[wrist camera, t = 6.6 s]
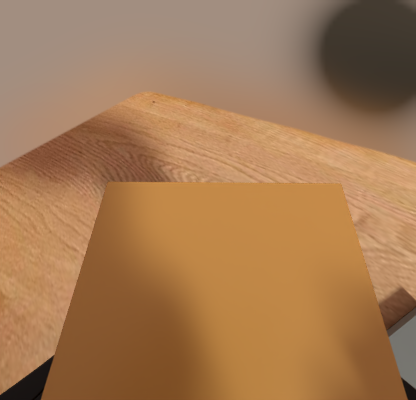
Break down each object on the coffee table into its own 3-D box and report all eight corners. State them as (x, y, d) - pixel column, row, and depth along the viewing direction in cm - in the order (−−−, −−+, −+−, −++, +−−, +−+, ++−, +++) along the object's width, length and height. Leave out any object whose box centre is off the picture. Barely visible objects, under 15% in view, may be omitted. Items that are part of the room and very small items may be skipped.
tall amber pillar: (261, 357, 13) (478, 629, 2) (174, 352, 13) (-12, 571, 2) (255, 266, 15) (341, 183, 5) (182, 264, 16) (107, 181, 5)
